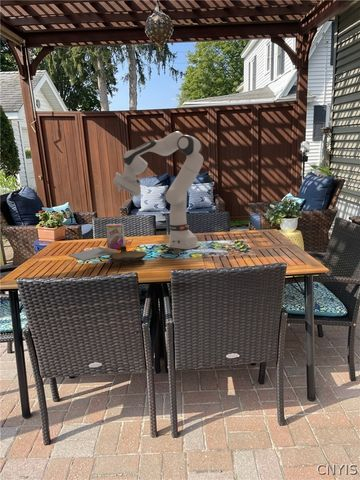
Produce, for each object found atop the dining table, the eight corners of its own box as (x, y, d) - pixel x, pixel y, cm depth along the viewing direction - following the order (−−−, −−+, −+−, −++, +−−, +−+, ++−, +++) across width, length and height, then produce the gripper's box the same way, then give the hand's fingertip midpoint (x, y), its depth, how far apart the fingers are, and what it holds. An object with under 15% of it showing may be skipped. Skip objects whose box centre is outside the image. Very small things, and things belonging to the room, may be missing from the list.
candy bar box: (107, 249, 245) (105, 225, 241) (109, 247, 250) (107, 224, 246) (123, 249, 244) (121, 224, 240) (125, 247, 248) (123, 223, 245)
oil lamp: (103, 269, 200) (102, 256, 199) (116, 255, 230) (114, 243, 228) (143, 268, 199) (142, 254, 197) (151, 253, 228) (150, 241, 226)
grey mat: (117, 252, 235) (117, 250, 235) (83, 260, 220) (83, 258, 219) (101, 247, 250) (101, 245, 250) (68, 255, 234) (68, 253, 234)
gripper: (118, 169, 242) (115, 185, 236) (142, 183, 254) (140, 199, 247) (113, 173, 247) (109, 189, 240) (137, 187, 258) (134, 203, 251)
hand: (125, 194), depth 243 cm, fingers open, 8 cm apart
